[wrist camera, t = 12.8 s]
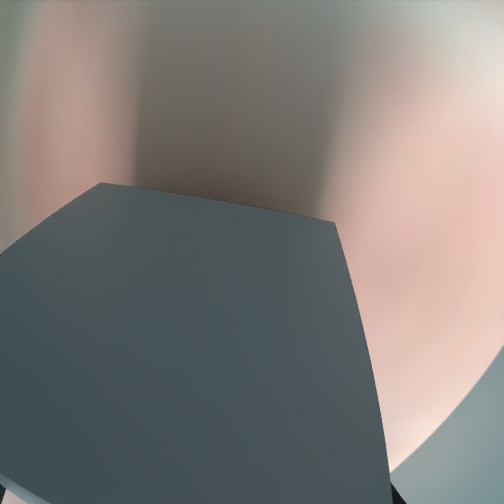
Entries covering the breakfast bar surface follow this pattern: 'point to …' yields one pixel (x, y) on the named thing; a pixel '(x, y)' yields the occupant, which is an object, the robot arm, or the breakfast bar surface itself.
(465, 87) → the breakfast bar surface
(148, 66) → the breakfast bar surface
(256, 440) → the matte grey cube
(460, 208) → the breakfast bar surface
